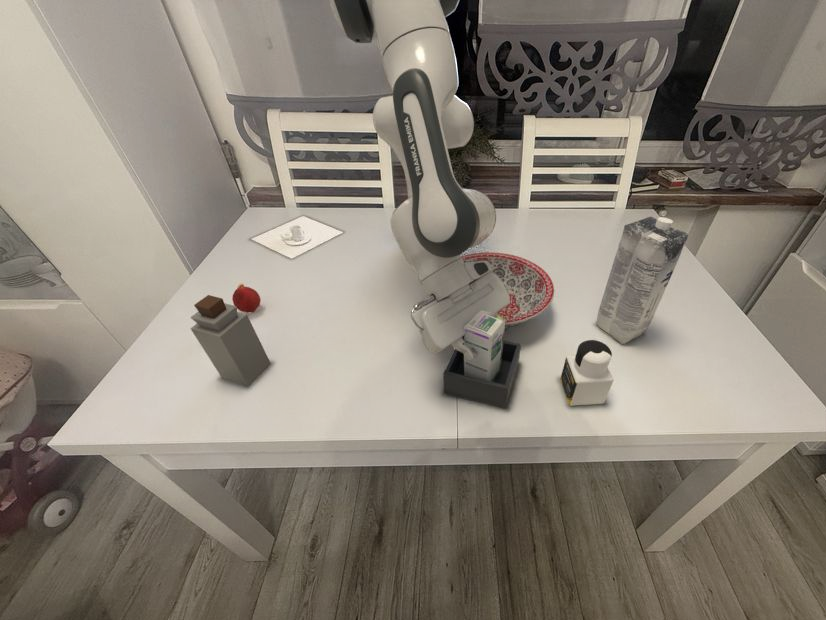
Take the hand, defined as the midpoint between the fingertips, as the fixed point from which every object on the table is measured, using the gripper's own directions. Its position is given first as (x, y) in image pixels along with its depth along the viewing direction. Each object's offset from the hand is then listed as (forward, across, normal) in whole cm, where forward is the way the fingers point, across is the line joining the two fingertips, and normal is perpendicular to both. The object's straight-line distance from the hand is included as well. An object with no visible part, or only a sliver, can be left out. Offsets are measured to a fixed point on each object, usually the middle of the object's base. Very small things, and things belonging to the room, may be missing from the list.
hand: (486, 347), depth 74 cm
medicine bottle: (+18, +11, -5) cm, 22 cm away
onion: (-33, -23, +47) cm, 61 cm away
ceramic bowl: (-4, +18, +17) cm, 25 cm away
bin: (+6, 0, +7) cm, 9 cm away
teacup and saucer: (-52, +5, +66) cm, 84 cm away
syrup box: (+6, 0, +7) cm, 9 cm away
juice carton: (+15, +34, -2) cm, 38 cm away
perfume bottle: (-20, -32, +34) cm, 51 cm away
